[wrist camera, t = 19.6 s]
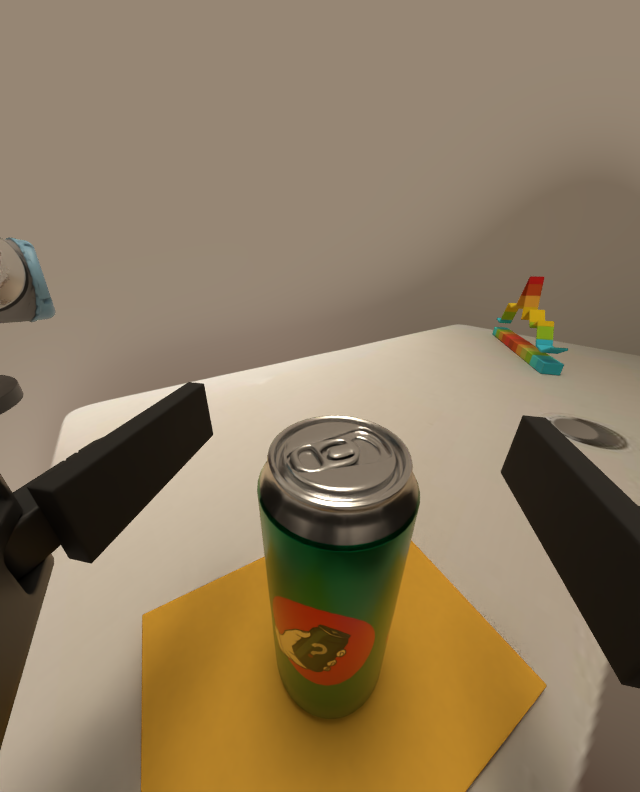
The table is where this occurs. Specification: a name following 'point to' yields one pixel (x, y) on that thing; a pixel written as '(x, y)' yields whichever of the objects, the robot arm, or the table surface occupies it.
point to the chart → (537, 320)
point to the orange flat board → (313, 736)
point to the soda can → (335, 555)
